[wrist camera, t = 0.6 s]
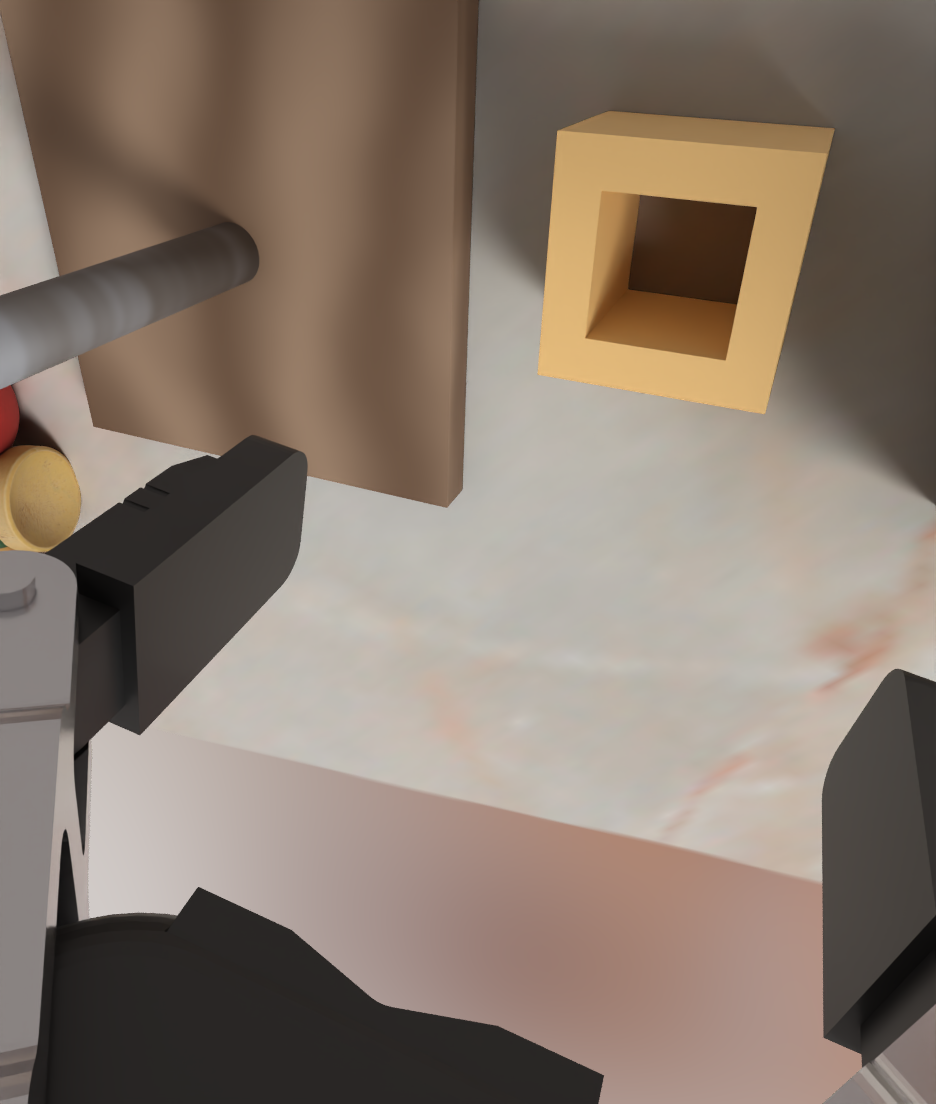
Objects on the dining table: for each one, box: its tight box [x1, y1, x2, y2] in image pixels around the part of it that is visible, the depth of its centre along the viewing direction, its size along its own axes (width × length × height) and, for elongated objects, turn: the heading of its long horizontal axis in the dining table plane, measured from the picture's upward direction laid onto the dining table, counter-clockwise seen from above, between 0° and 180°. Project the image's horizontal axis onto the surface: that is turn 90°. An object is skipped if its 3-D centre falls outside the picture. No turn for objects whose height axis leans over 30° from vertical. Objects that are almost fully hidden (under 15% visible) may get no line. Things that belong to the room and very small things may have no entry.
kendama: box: [0, 385, 81, 553], centre depth 40 cm, size 8×6×18 cm
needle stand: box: [0, 0, 479, 508], centre depth 25 cm, size 16×16×14 cm
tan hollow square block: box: [538, 111, 835, 414], centre depth 23 cm, size 6×6×5 cm
